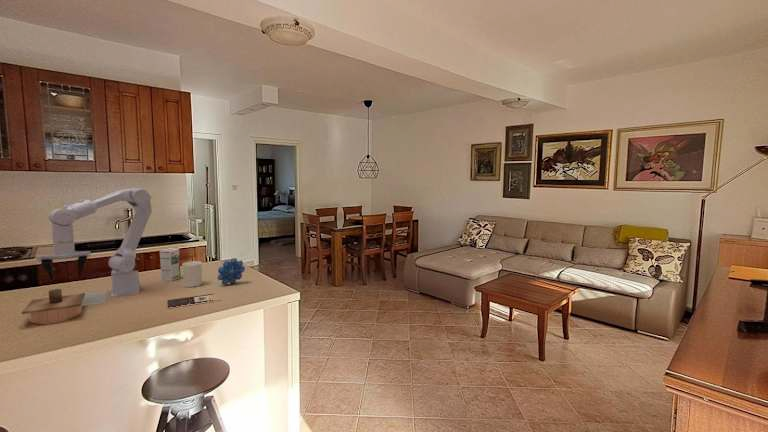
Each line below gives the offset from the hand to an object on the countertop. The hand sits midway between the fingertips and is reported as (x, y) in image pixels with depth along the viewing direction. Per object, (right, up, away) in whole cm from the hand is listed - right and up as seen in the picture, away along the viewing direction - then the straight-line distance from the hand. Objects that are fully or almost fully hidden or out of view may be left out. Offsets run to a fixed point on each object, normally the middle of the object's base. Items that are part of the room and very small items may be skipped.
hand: (66, 278), depth 131 cm
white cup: (+31, -8, +28) cm, 43 cm away
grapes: (+47, -8, +31) cm, 57 cm away
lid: (+6, -7, -10) cm, 14 cm away
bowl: (+6, -11, -10) cm, 16 cm away
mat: (0, -10, +5) cm, 11 cm away
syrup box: (+16, -7, +37) cm, 41 cm away
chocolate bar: (+43, -11, +8) cm, 45 cm away
